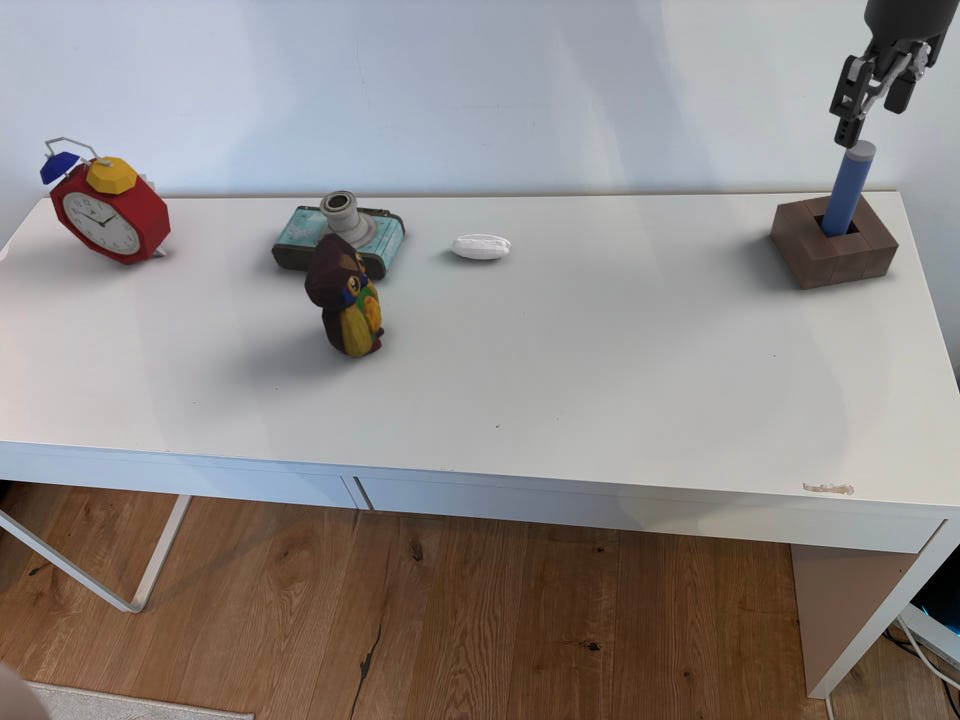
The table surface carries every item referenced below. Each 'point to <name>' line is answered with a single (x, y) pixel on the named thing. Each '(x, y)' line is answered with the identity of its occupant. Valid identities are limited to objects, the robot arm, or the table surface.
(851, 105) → the robot arm
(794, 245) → the holder
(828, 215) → the handle
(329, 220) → the camera
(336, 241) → the figurine
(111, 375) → the table surface
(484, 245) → the white oval lump
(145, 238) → the alarm clock
